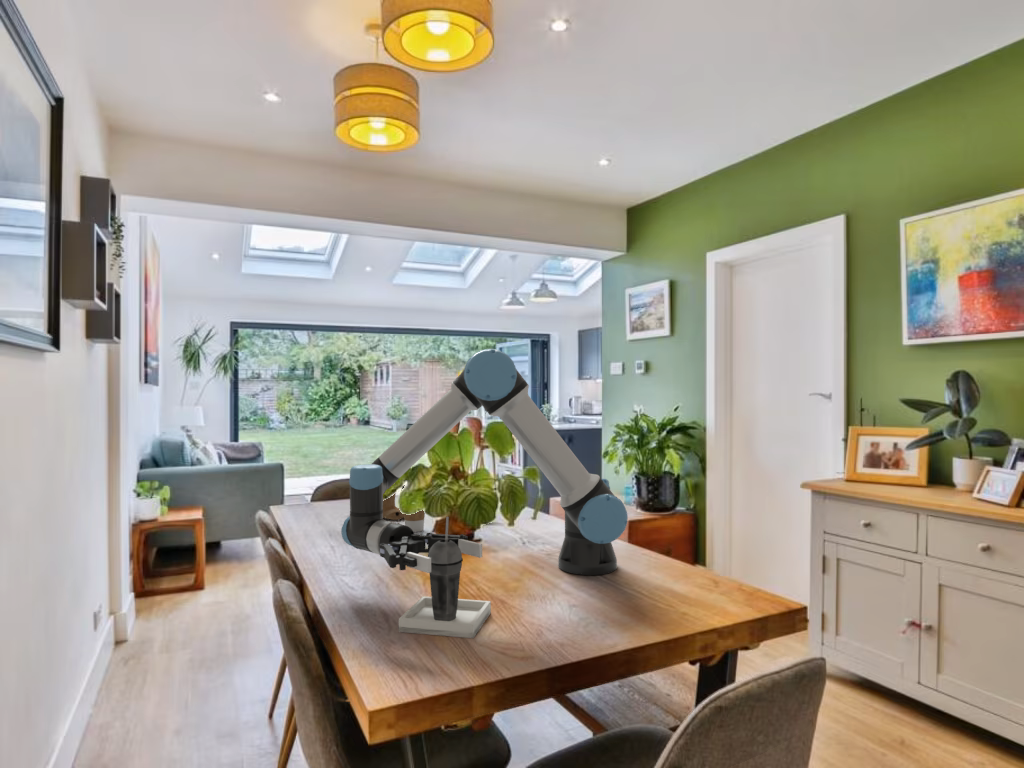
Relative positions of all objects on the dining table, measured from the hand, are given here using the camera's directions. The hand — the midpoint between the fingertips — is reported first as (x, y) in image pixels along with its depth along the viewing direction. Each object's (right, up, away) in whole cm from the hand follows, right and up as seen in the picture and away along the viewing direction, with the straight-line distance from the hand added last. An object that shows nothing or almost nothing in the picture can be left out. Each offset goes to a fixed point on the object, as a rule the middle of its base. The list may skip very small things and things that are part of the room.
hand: (456, 557), depth 122 cm
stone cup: (-34, -14, +101) cm, 107 cm away
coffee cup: (-21, -14, +81) cm, 85 cm away
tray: (-2, -14, +2) cm, 14 cm away
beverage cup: (-3, -13, +2) cm, 13 cm away
